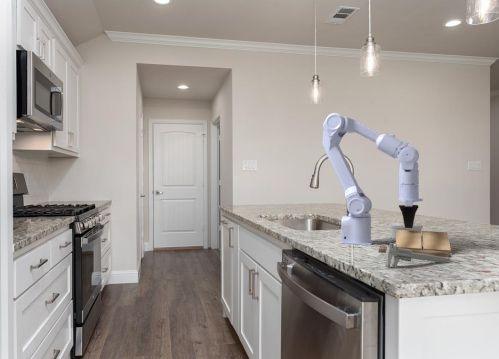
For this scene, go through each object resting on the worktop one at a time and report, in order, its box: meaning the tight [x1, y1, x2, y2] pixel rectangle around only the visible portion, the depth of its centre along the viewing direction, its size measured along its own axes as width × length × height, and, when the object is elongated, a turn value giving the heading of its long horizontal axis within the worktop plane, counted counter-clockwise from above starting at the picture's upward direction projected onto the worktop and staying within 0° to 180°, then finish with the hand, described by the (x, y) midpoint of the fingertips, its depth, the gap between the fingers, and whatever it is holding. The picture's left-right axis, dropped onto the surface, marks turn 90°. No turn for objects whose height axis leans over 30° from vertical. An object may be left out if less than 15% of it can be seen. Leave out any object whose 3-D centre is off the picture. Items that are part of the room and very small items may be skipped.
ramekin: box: [388, 222, 423, 240], centre depth 136 cm, size 11×11×5 cm
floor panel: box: [378, 245, 450, 258], centre depth 109 cm, size 18×4×1 cm, turn 68°
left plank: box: [395, 230, 423, 249], centre depth 117 cm, size 7×11×1 cm, turn 158°
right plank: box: [421, 230, 452, 255], centre depth 114 cm, size 7×11×1 cm, turn 158°
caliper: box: [384, 242, 454, 269], centre depth 95 cm, size 20×1×6 cm, turn 109°
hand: (408, 227), depth 120 cm, fingers closed
